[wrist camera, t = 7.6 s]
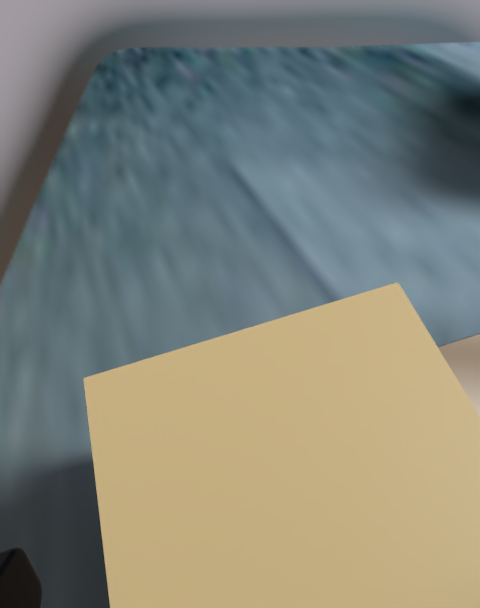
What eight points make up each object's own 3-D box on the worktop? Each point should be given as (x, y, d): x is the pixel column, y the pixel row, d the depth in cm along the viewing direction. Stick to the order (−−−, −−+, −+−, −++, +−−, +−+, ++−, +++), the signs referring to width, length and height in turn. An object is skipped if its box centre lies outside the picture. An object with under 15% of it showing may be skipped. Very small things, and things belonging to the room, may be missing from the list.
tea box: (380, 633, 13) (967, 1198, 2) (258, 682, 12) (223, 1679, 2) (307, 443, 15) (399, 278, 5) (207, 477, 15) (78, 375, 5)
